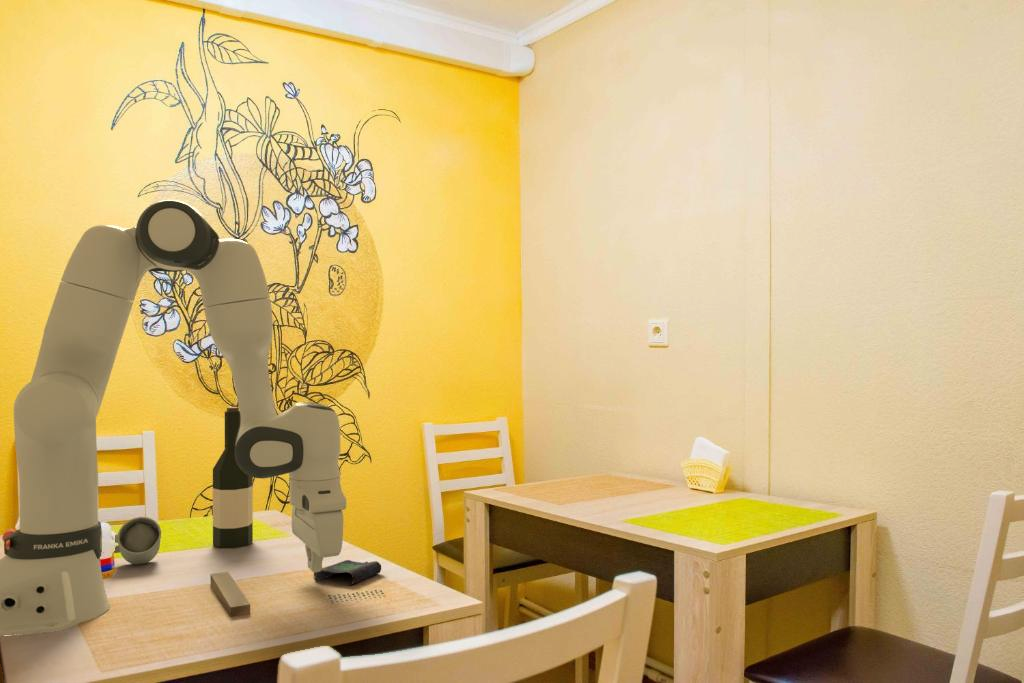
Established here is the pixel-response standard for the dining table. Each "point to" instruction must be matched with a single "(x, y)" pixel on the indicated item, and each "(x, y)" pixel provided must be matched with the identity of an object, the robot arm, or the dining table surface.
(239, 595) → the bar
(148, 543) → the ceramic mug
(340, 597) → the woven mat
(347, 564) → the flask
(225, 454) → the wine bottle
